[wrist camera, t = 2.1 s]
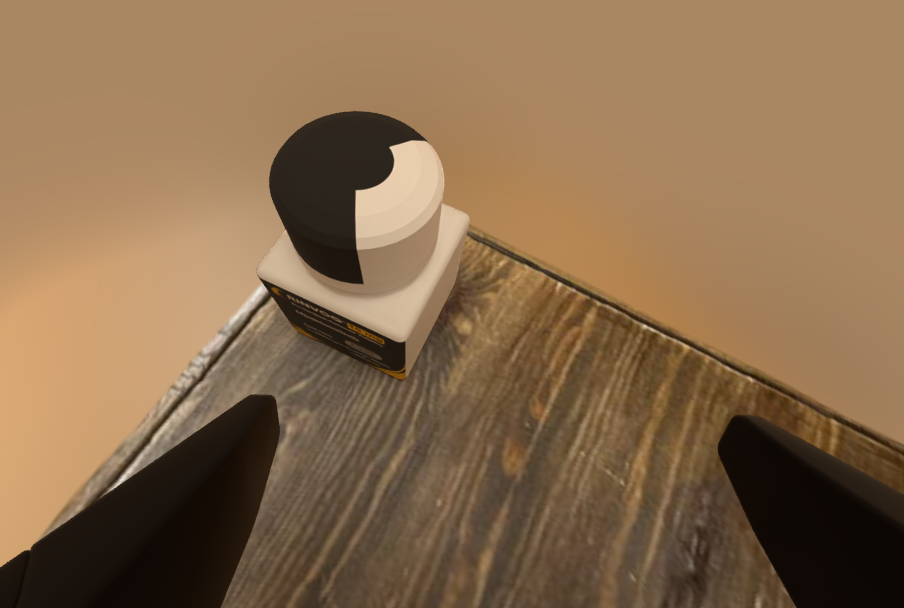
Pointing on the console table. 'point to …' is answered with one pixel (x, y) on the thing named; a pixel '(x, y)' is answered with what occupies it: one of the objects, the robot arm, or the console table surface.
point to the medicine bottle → (363, 237)
